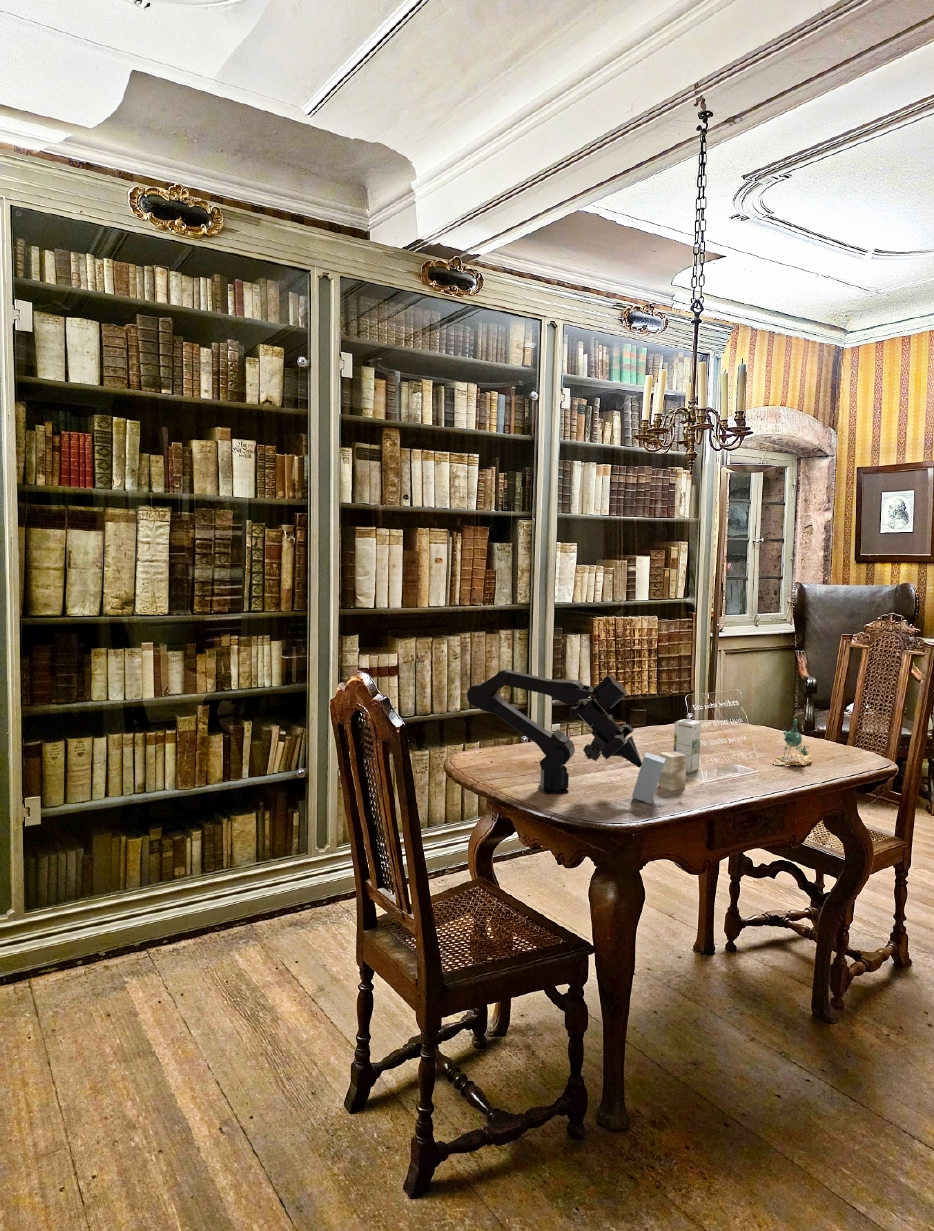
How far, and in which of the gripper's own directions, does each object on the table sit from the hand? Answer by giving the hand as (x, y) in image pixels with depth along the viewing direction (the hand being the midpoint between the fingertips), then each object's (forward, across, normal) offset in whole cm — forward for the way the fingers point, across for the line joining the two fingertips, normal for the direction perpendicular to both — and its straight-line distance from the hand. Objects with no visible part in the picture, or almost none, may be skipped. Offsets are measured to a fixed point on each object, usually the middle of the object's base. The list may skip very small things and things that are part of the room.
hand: (640, 766), depth 206 cm
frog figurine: (+35, -58, +22) cm, 71 cm away
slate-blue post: (+6, 0, -5) cm, 8 cm away
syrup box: (+13, -36, 0) cm, 38 cm away
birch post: (+11, -16, -2) cm, 19 cm away
